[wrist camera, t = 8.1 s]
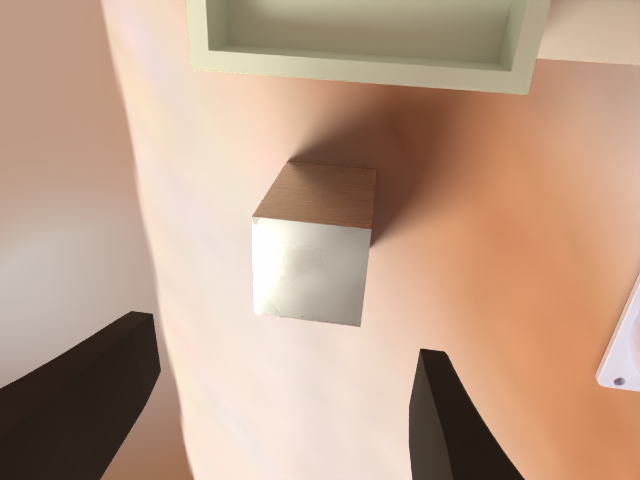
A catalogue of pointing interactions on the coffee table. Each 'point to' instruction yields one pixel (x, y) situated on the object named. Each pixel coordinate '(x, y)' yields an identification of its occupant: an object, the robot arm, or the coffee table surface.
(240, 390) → the coffee table surface
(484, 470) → the robot arm
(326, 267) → the part block
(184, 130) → the coffee table surface
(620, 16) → the rail board
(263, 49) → the mint green storage bin
